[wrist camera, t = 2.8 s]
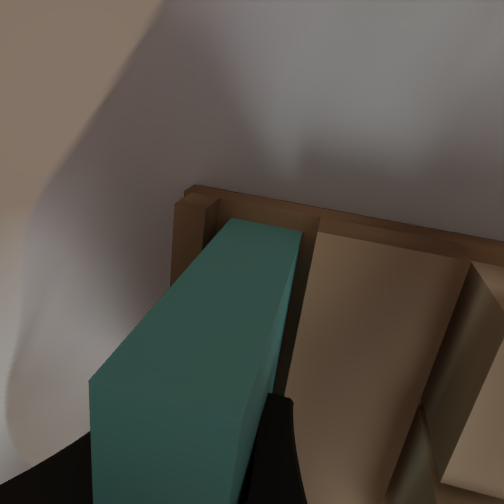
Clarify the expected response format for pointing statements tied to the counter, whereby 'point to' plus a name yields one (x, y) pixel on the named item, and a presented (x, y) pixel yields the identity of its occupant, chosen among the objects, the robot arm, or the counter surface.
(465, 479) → the offcut
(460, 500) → the offcut
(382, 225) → the rack
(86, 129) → the counter surface
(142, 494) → the board
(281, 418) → the robot arm
